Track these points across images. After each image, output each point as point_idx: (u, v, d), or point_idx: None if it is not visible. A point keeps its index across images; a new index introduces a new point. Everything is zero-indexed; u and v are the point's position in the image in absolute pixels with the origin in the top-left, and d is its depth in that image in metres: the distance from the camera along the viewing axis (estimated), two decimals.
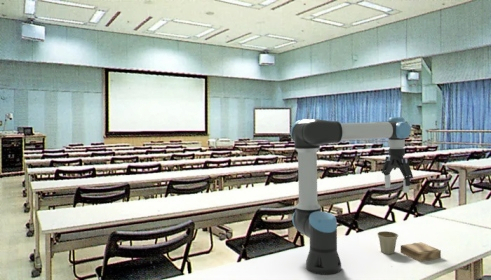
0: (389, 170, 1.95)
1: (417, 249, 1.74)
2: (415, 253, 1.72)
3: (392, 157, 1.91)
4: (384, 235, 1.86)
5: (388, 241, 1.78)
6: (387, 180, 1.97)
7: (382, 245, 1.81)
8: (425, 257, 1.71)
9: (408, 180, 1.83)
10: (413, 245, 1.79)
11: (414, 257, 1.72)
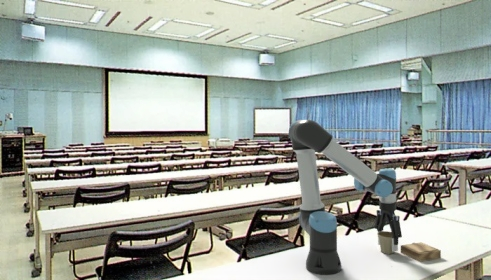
0: (382, 225, 1.85)
1: (417, 249, 1.74)
2: (415, 253, 1.72)
3: (383, 210, 1.83)
4: (384, 235, 1.86)
5: (388, 241, 1.78)
6: None
7: (382, 245, 1.81)
8: (425, 257, 1.71)
9: (397, 239, 1.76)
10: (413, 245, 1.79)
11: (414, 257, 1.72)
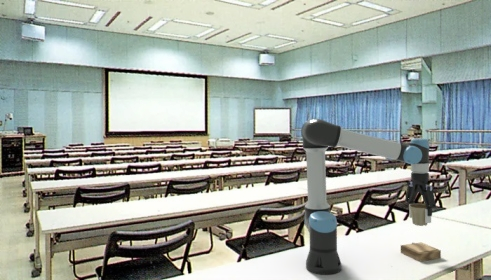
0: (413, 197, 1.79)
1: (417, 249, 1.74)
2: (415, 253, 1.72)
3: (414, 181, 1.77)
4: (415, 207, 1.80)
5: (421, 212, 1.72)
6: None
7: (414, 217, 1.75)
8: (425, 257, 1.71)
9: (430, 210, 1.70)
10: (413, 245, 1.79)
11: (414, 257, 1.72)
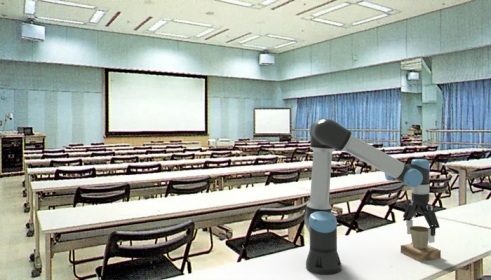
0: (411, 215, 1.81)
1: (417, 249, 1.74)
2: (415, 253, 1.72)
3: (415, 202, 1.77)
4: (415, 230, 1.80)
5: (421, 236, 1.73)
6: (409, 226, 1.82)
7: (414, 240, 1.75)
8: (425, 257, 1.71)
9: (434, 229, 1.68)
10: None
11: (414, 257, 1.72)
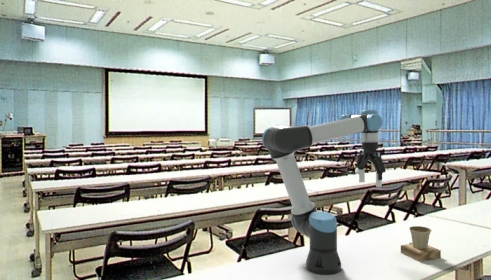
0: (363, 164, 1.91)
1: (417, 249, 1.74)
2: (415, 253, 1.72)
3: (365, 151, 1.87)
4: (416, 230, 1.80)
5: (422, 236, 1.73)
6: (361, 174, 1.93)
7: (415, 240, 1.75)
8: (425, 257, 1.71)
9: (380, 174, 1.79)
10: None
11: (414, 257, 1.72)
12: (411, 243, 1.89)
